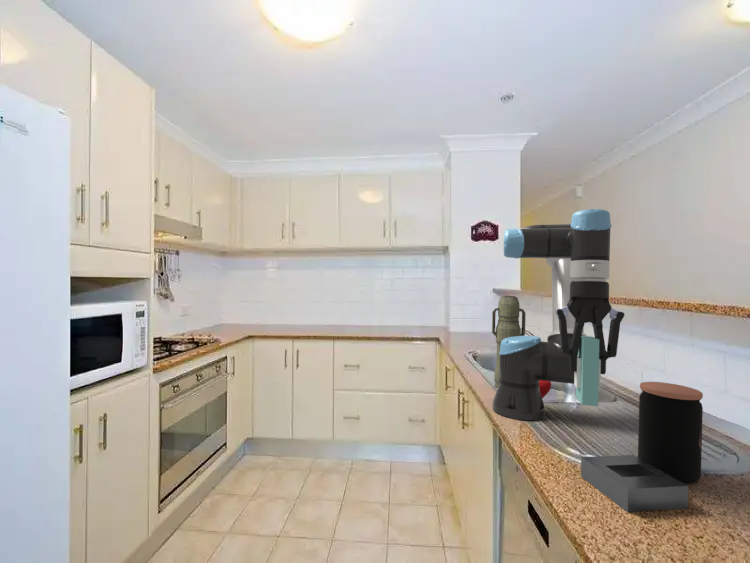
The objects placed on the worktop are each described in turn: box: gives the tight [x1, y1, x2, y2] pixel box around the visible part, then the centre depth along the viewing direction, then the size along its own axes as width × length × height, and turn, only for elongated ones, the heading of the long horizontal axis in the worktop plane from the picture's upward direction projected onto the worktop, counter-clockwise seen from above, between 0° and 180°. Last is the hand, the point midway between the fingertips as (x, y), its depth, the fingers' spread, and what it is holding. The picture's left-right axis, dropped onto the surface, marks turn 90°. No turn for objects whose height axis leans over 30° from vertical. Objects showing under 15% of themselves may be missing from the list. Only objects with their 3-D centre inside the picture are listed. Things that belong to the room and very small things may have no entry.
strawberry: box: [539, 380, 552, 400], centre depth 130 cm, size 6×8×10 cm
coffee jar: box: [637, 381, 704, 485], centre depth 80 cm, size 11×11×18 cm
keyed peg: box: [575, 335, 599, 407], centre depth 82 cm, size 6×3×14 cm, turn 163°
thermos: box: [491, 295, 526, 389], centre depth 142 cm, size 9×12×35 cm
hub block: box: [580, 454, 689, 513], centre depth 72 cm, size 12×12×4 cm
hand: (586, 387), depth 82 cm, fingers closed on keyed peg, 3 cm apart
